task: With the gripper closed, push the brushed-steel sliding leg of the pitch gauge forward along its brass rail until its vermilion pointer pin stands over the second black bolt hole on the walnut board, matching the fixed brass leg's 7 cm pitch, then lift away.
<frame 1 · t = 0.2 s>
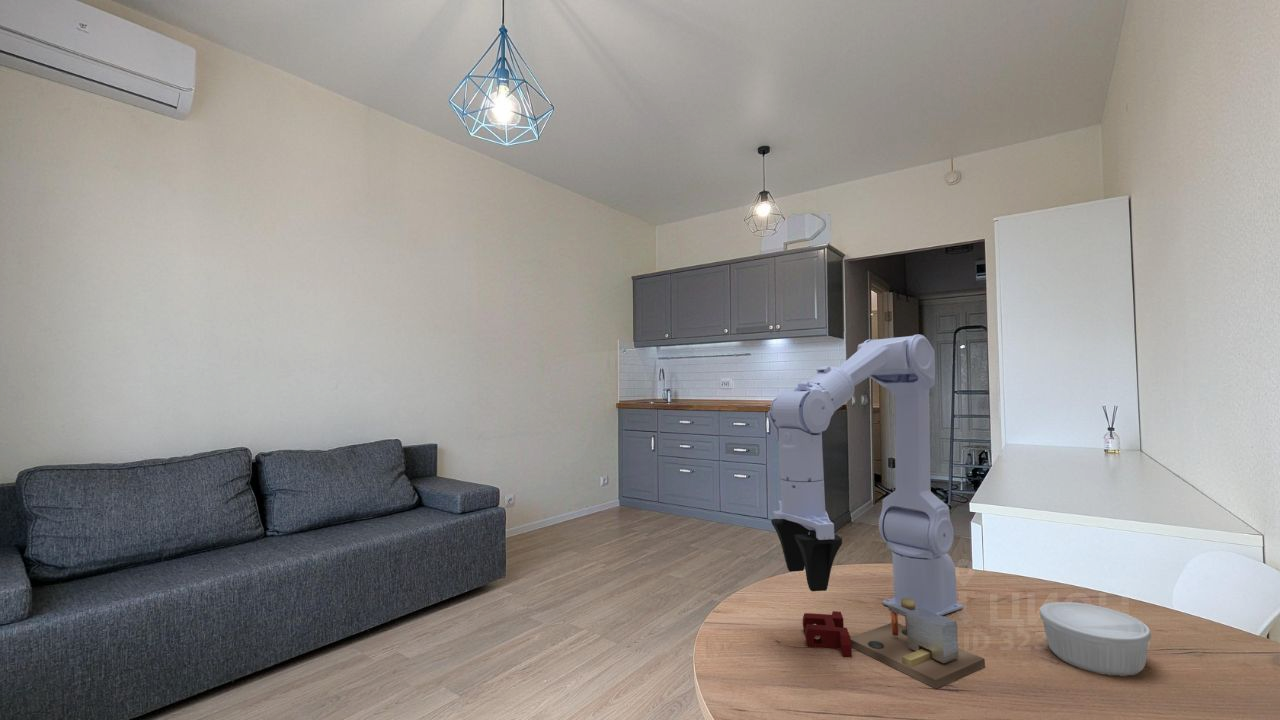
hand: (806, 579, 74), 10 cm above the table, tool pointing down, fingers open, 7 cm apart
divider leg: (919, 629, 73), point 4 cm above the table, slide at -0.5 cm
bracket: (825, 643, 78), on the table
ramekin: (1095, 661, 71), on the table
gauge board: (913, 655, 73), on the table
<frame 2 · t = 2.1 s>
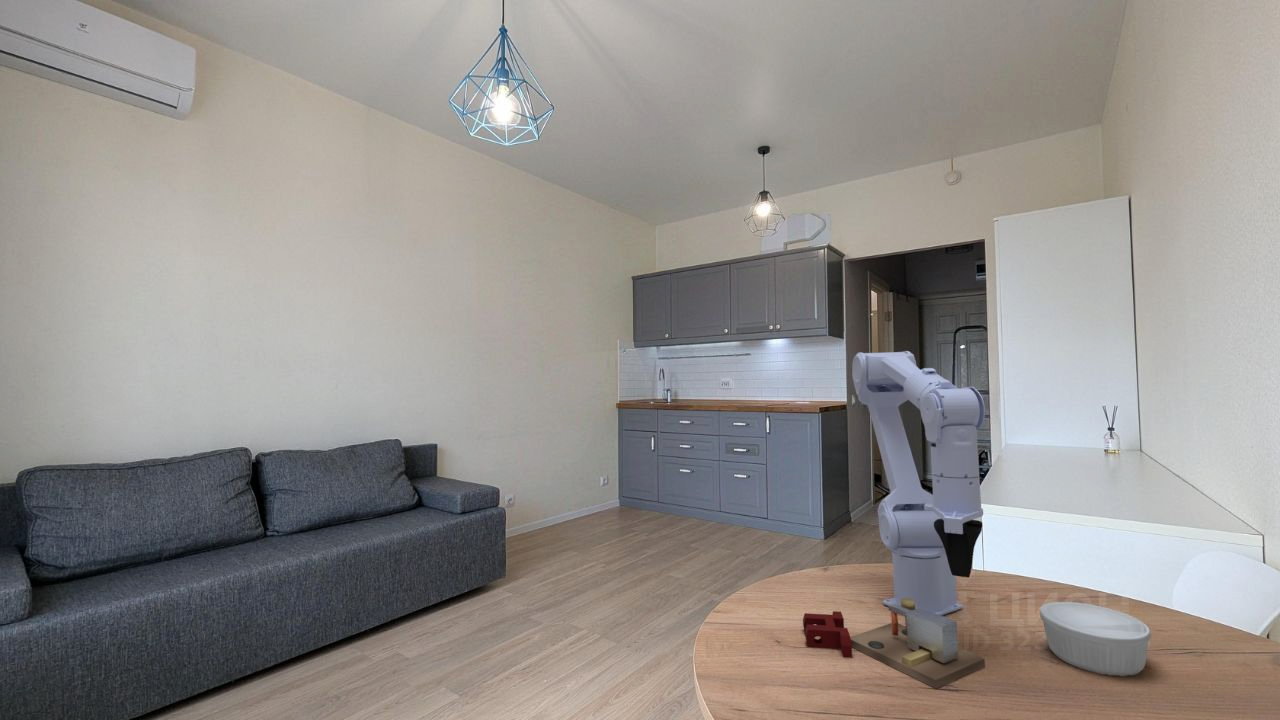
hand: (960, 575, 75), 10 cm above the table, tool pointing down, fingers closed
nothing on the table moved.
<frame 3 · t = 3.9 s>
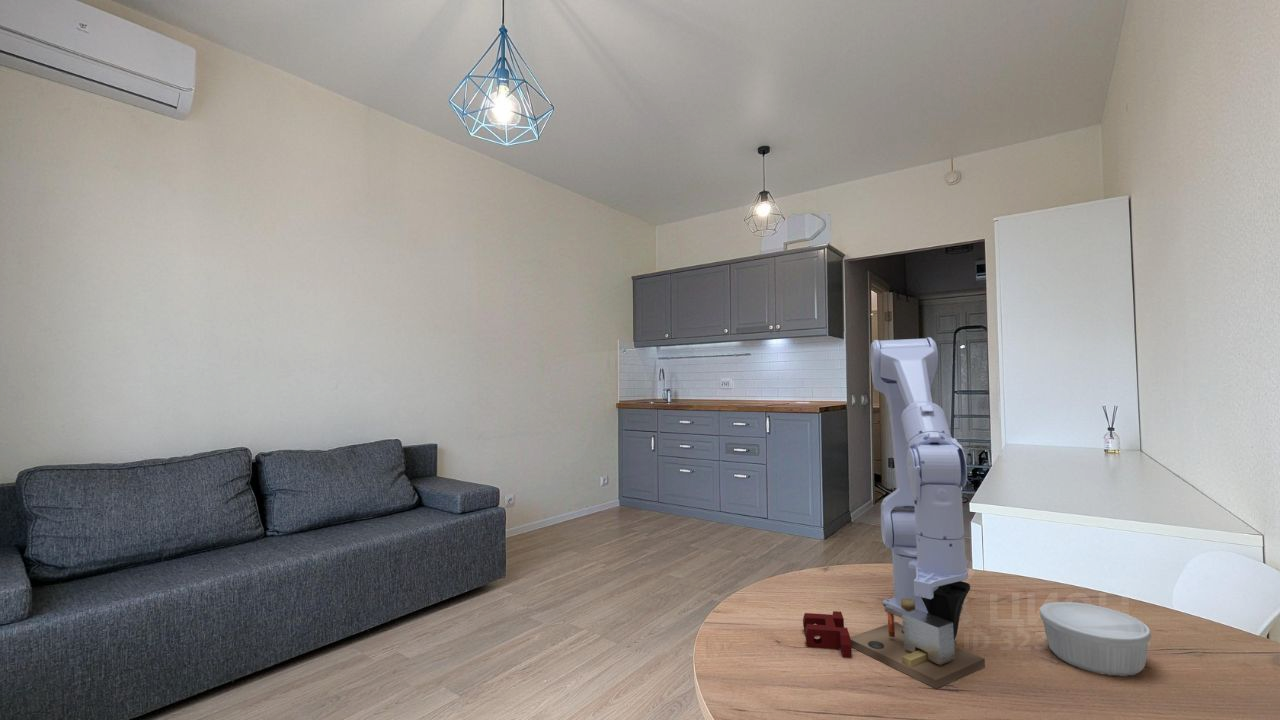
hand: (945, 638, 72), 2 cm above the table, tool pointing down, fingers closed
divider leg: (915, 630, 72), point 4 cm above the table, slide at 0.3 cm, touching gripper
everything else where it was.
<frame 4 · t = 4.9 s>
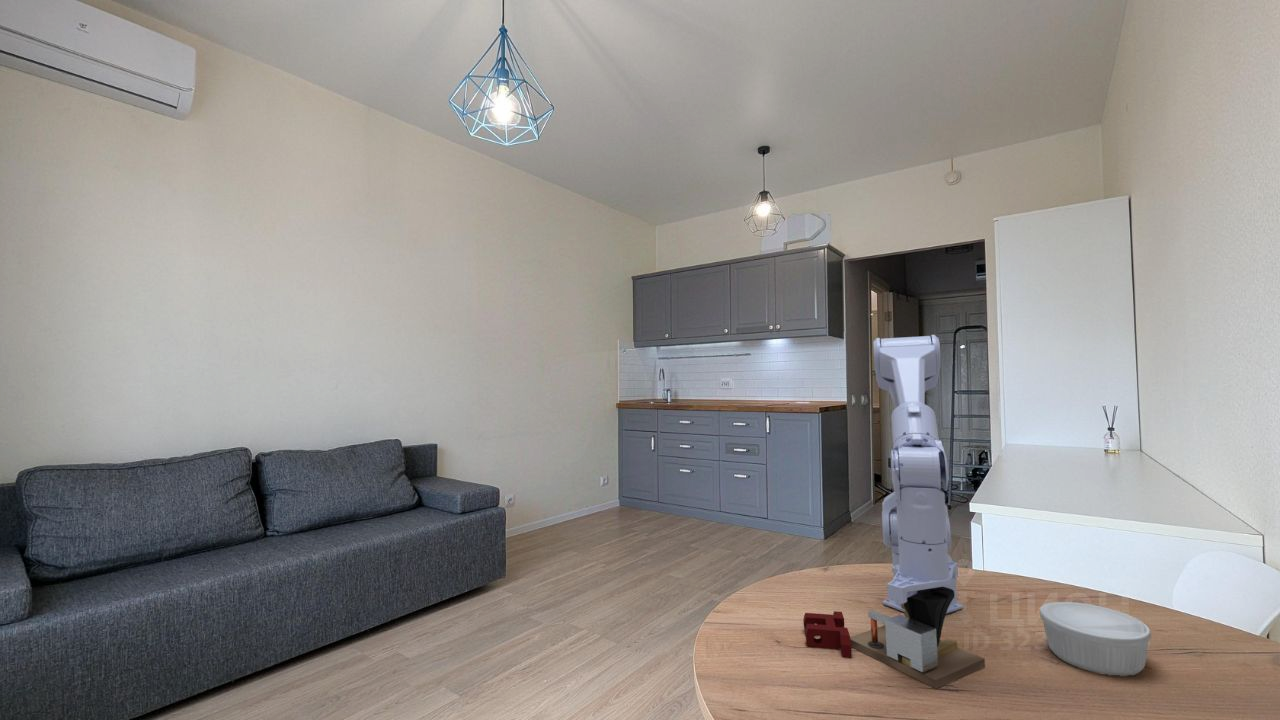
hand: (928, 645, 71), 2 cm above the table, tool pointing down, fingers closed
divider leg: (898, 636, 71), point 4 cm above the table, slide at 3.7 cm, touching gripper
everything else where it was.
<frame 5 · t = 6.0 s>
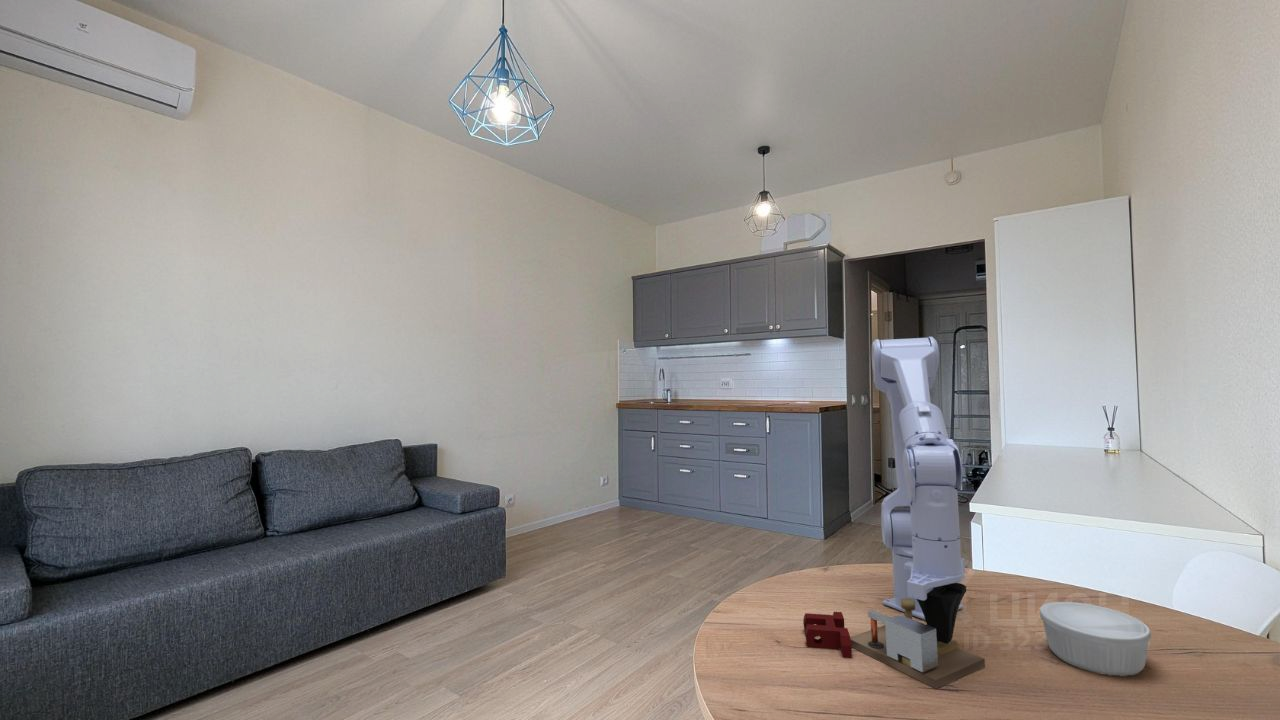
hand: (941, 640, 72), 2 cm above the table, tool pointing down, fingers closed
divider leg: (898, 636, 71), point 4 cm above the table, slide at 3.7 cm
everything else where it was.
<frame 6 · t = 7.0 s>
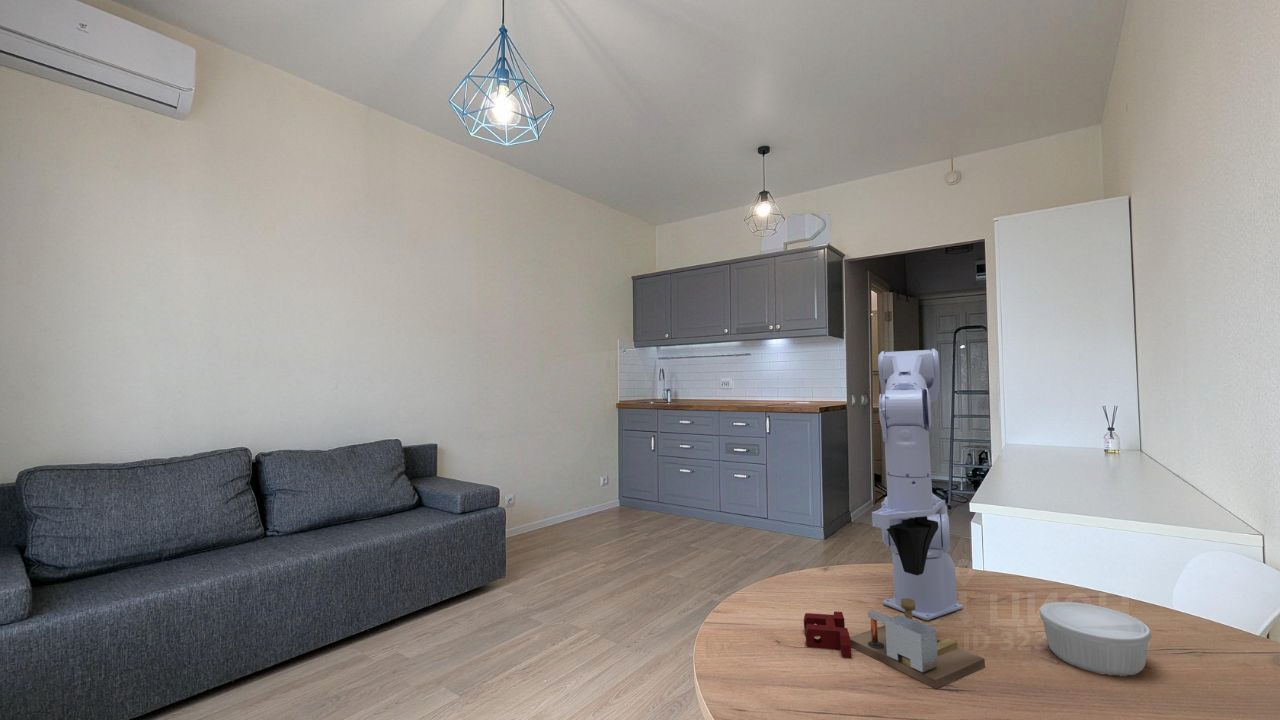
hand: (913, 572, 76), 10 cm above the table, tool pointing down, fingers closed
nothing on the table moved.
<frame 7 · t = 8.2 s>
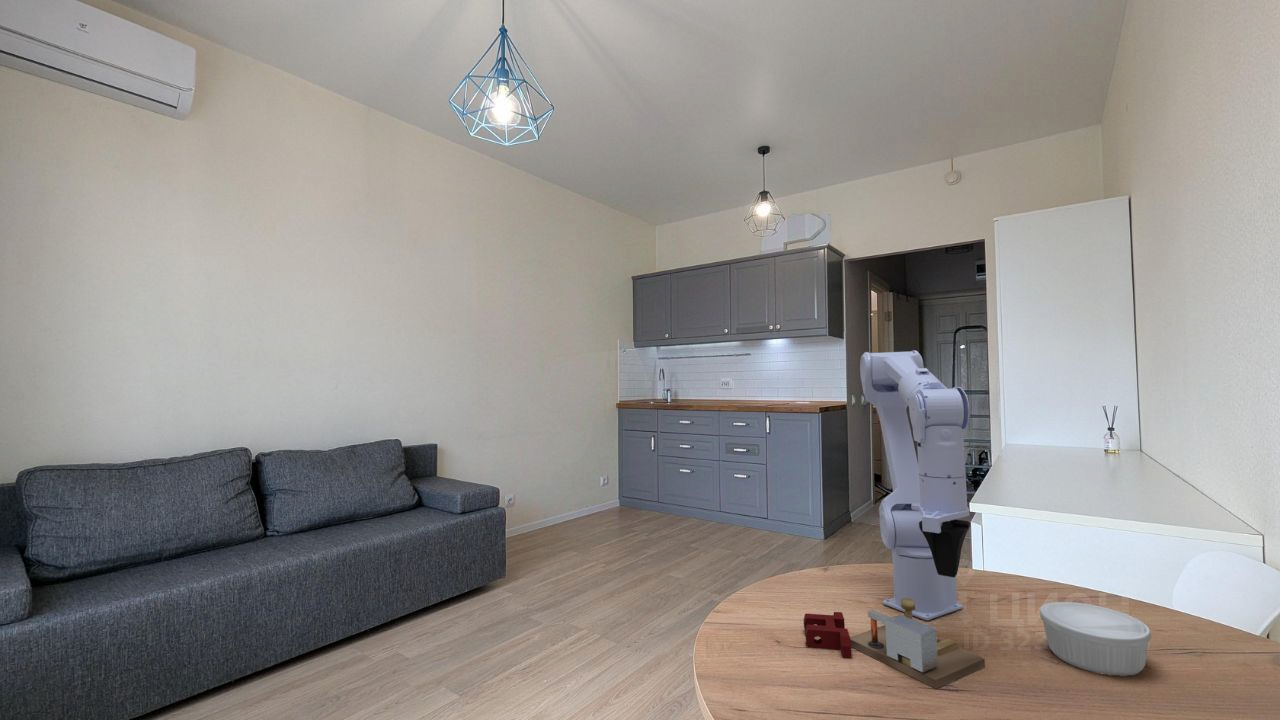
hand: (947, 574, 75), 10 cm above the table, tool pointing down, fingers closed
nothing on the table moved.
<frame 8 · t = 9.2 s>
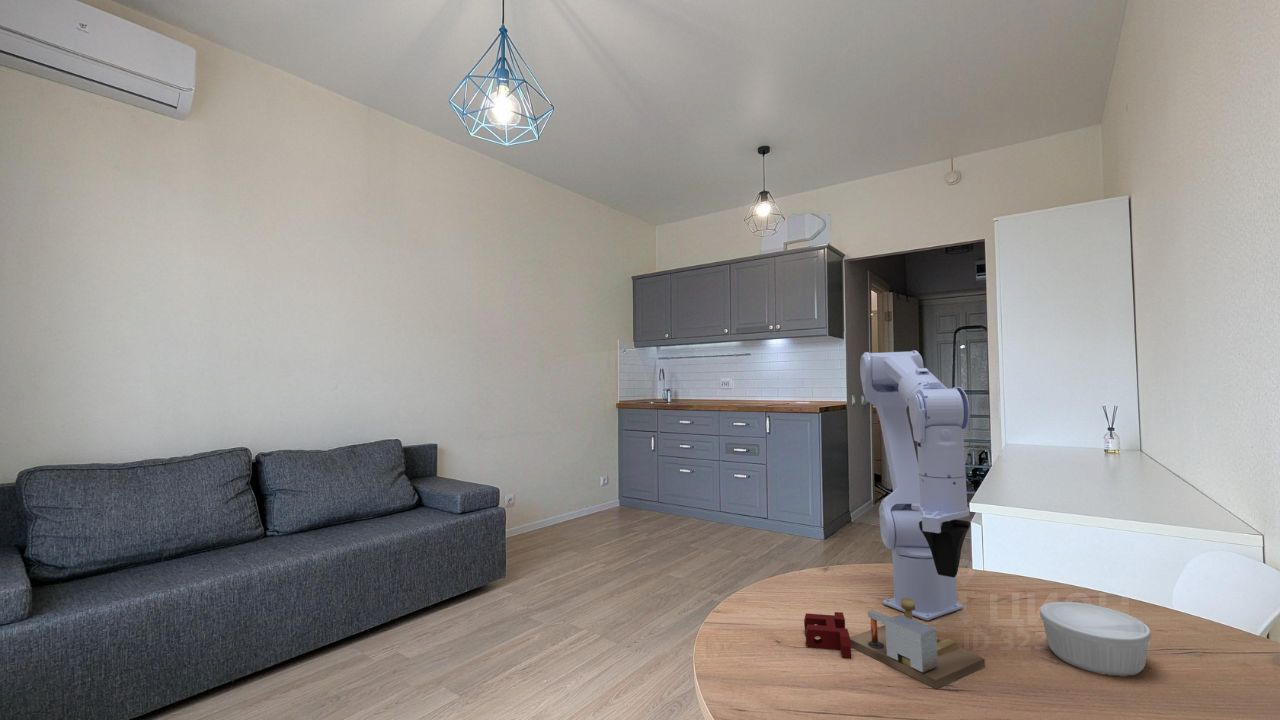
hand: (947, 574, 75), 10 cm above the table, tool pointing down, fingers closed
nothing on the table moved.
at the end: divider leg slide at 3.7 cm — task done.
